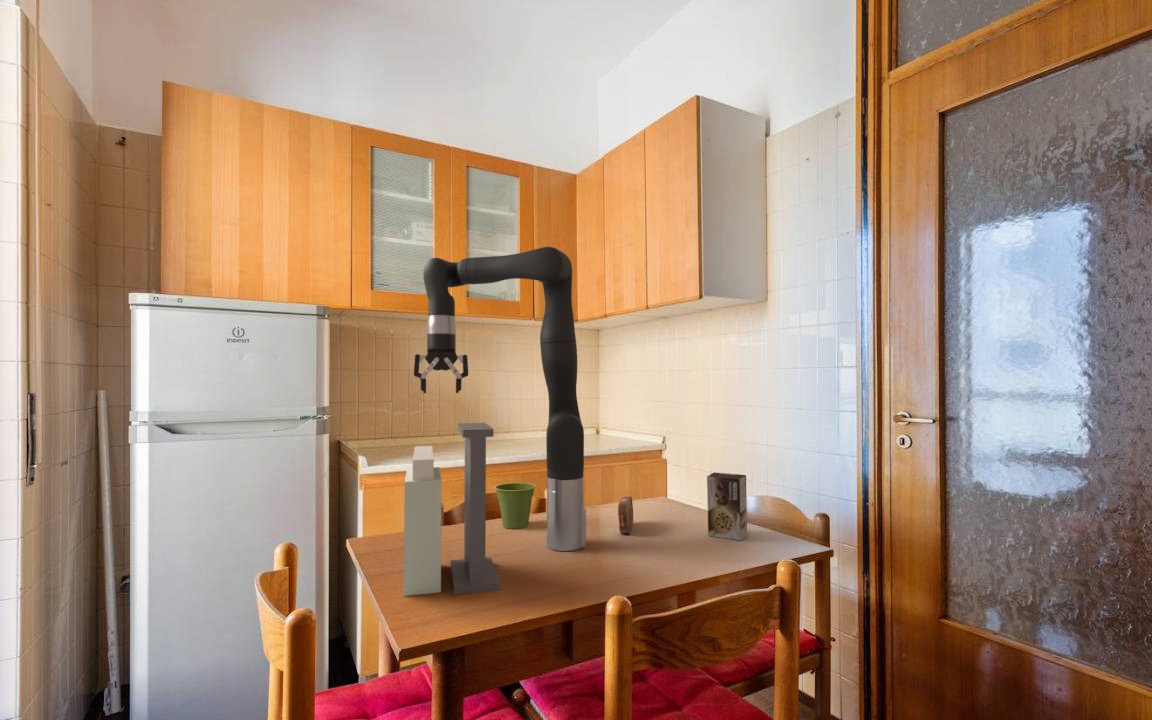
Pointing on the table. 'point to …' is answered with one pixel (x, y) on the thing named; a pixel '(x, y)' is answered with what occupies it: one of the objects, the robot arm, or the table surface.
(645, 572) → the table surface
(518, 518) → the plant pot
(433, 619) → the table surface
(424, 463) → the stone bar
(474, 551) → the tall stand
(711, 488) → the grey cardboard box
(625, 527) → the tin
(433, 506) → the pedestal
